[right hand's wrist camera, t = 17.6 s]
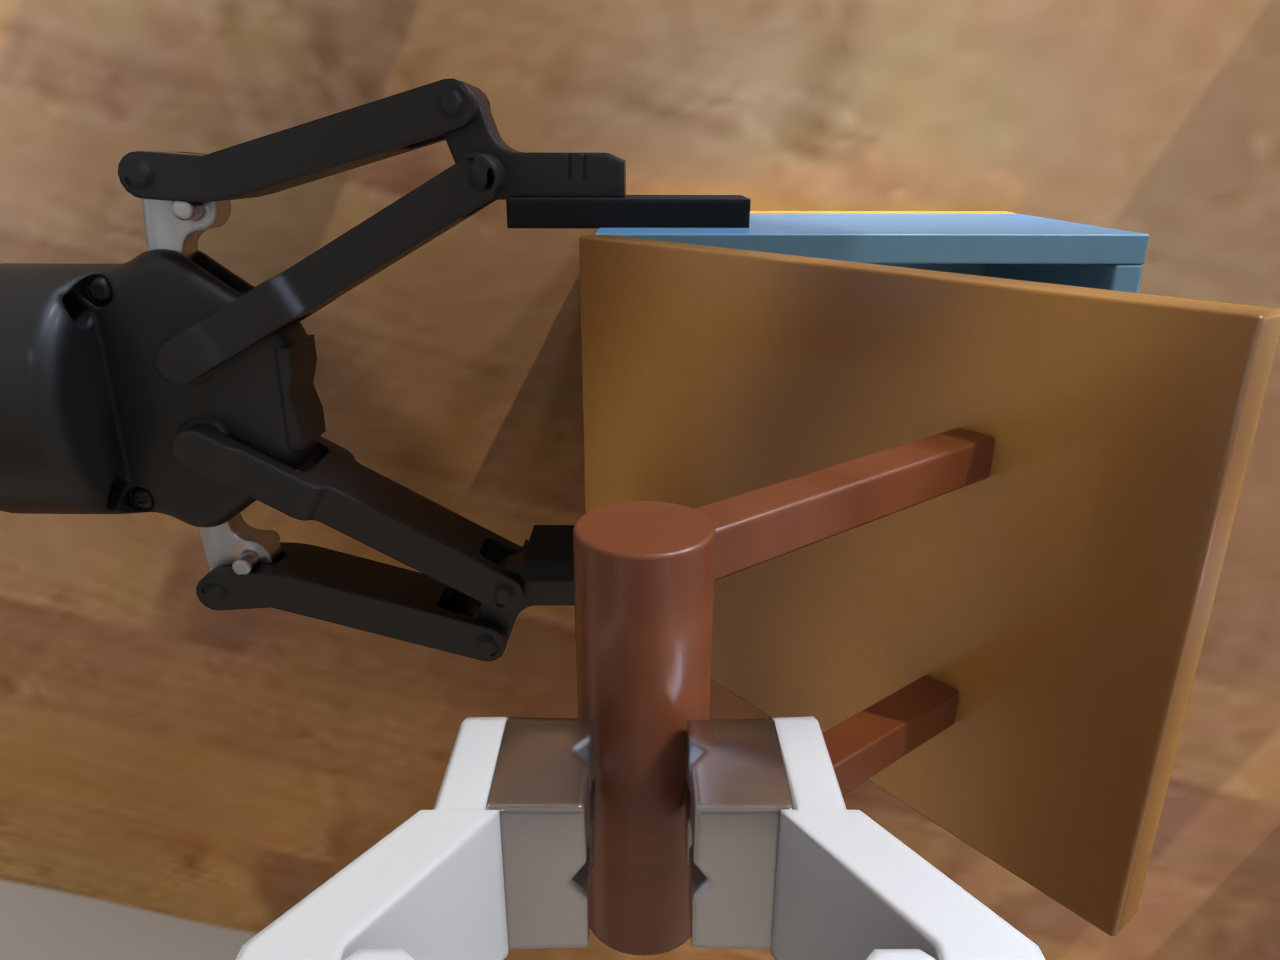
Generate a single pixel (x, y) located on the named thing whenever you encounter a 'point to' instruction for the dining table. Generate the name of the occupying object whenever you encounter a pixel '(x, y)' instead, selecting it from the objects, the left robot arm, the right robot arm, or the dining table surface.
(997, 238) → the chest
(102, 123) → the dining table surface
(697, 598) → the lid
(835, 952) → the right robot arm
